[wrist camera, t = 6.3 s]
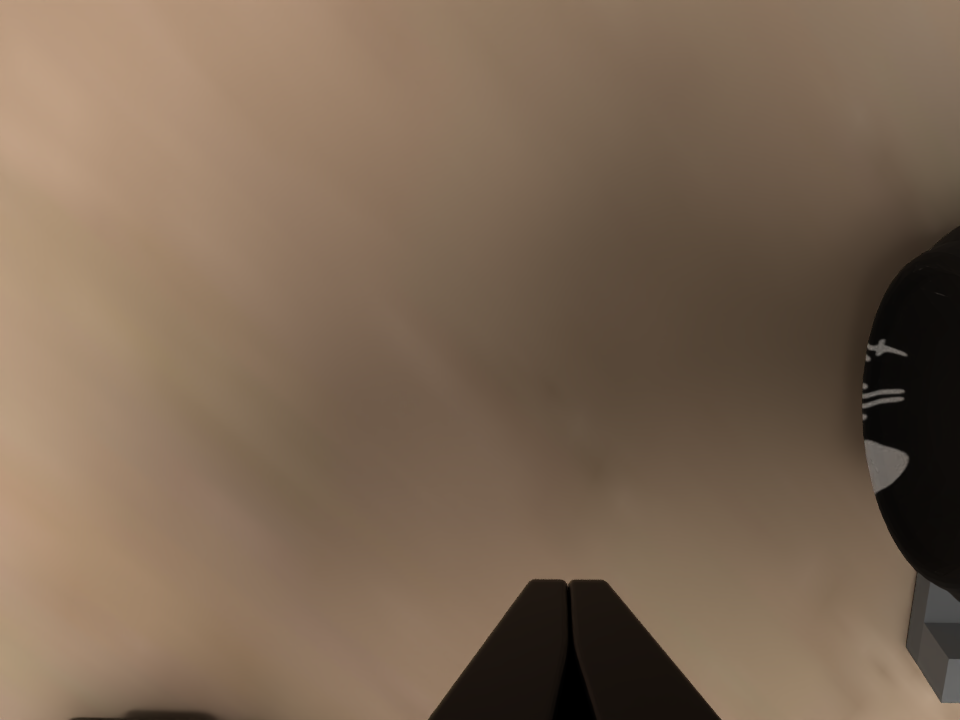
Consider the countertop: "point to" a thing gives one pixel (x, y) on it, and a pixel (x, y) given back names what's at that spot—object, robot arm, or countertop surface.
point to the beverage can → (918, 412)
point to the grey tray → (936, 638)
